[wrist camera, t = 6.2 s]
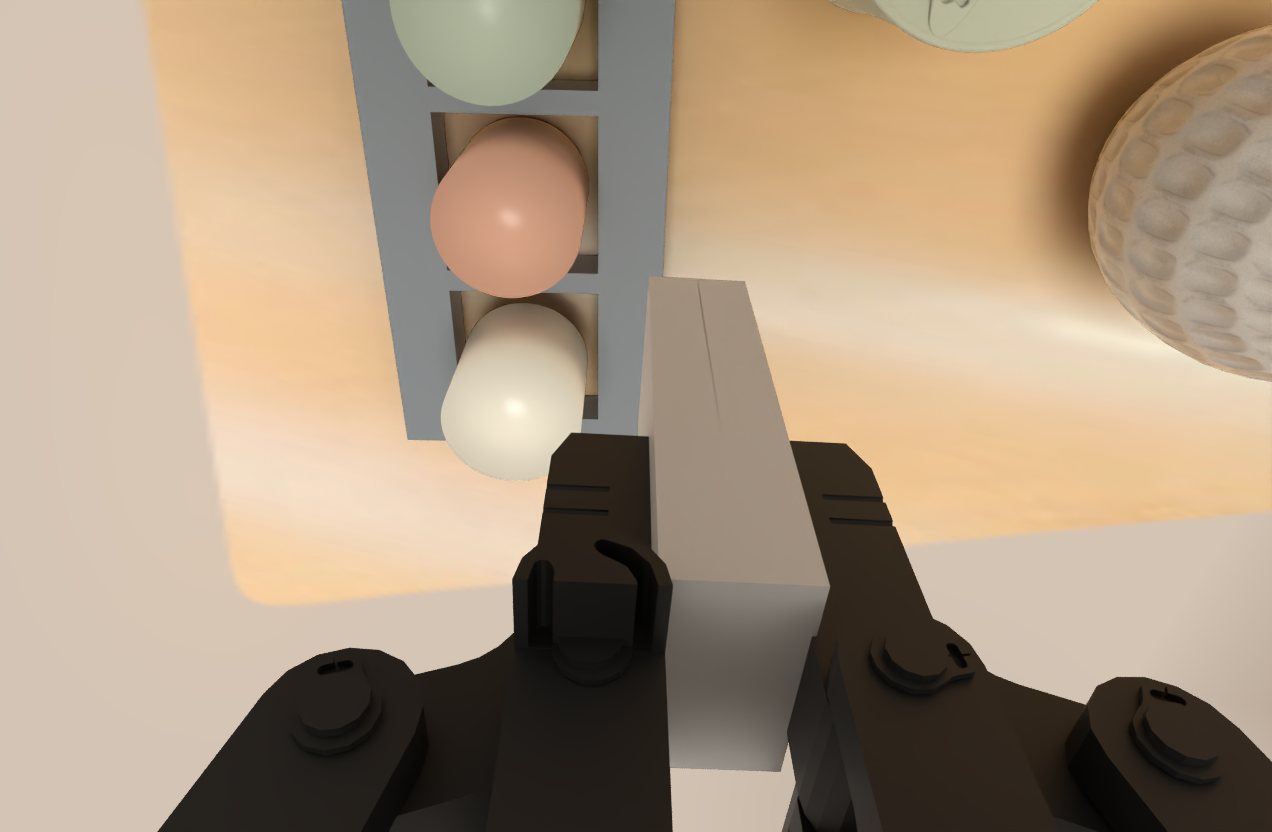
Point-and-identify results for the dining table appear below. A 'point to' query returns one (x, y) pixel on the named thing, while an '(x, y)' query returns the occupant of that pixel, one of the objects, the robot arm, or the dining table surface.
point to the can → (973, 20)
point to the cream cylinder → (516, 392)
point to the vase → (1195, 207)
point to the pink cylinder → (512, 209)
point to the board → (417, 162)
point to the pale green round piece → (487, 44)
